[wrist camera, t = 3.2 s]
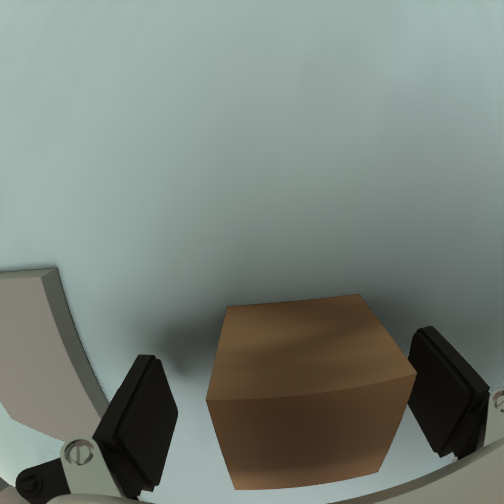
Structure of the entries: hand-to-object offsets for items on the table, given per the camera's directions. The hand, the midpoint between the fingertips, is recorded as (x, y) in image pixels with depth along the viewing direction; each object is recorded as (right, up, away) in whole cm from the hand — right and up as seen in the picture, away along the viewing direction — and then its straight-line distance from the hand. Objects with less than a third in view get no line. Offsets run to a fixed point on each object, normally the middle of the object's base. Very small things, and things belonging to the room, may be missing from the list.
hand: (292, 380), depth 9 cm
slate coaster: (-15, -2, +3) cm, 16 cm away
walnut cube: (0, 0, +2) cm, 2 cm away
